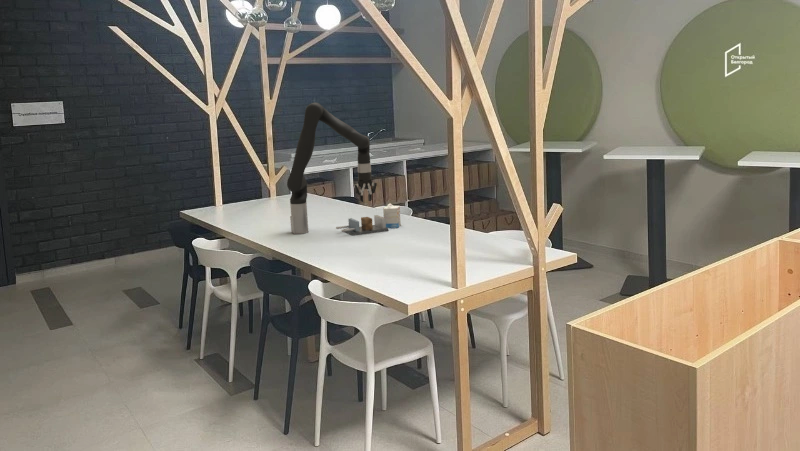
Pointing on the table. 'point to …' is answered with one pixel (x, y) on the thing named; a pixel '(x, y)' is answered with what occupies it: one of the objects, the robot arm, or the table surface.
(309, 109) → the robot arm
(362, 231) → the vise base
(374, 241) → the table surface
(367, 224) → the block
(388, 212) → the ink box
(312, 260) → the table surface
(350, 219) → the sliding jaw
